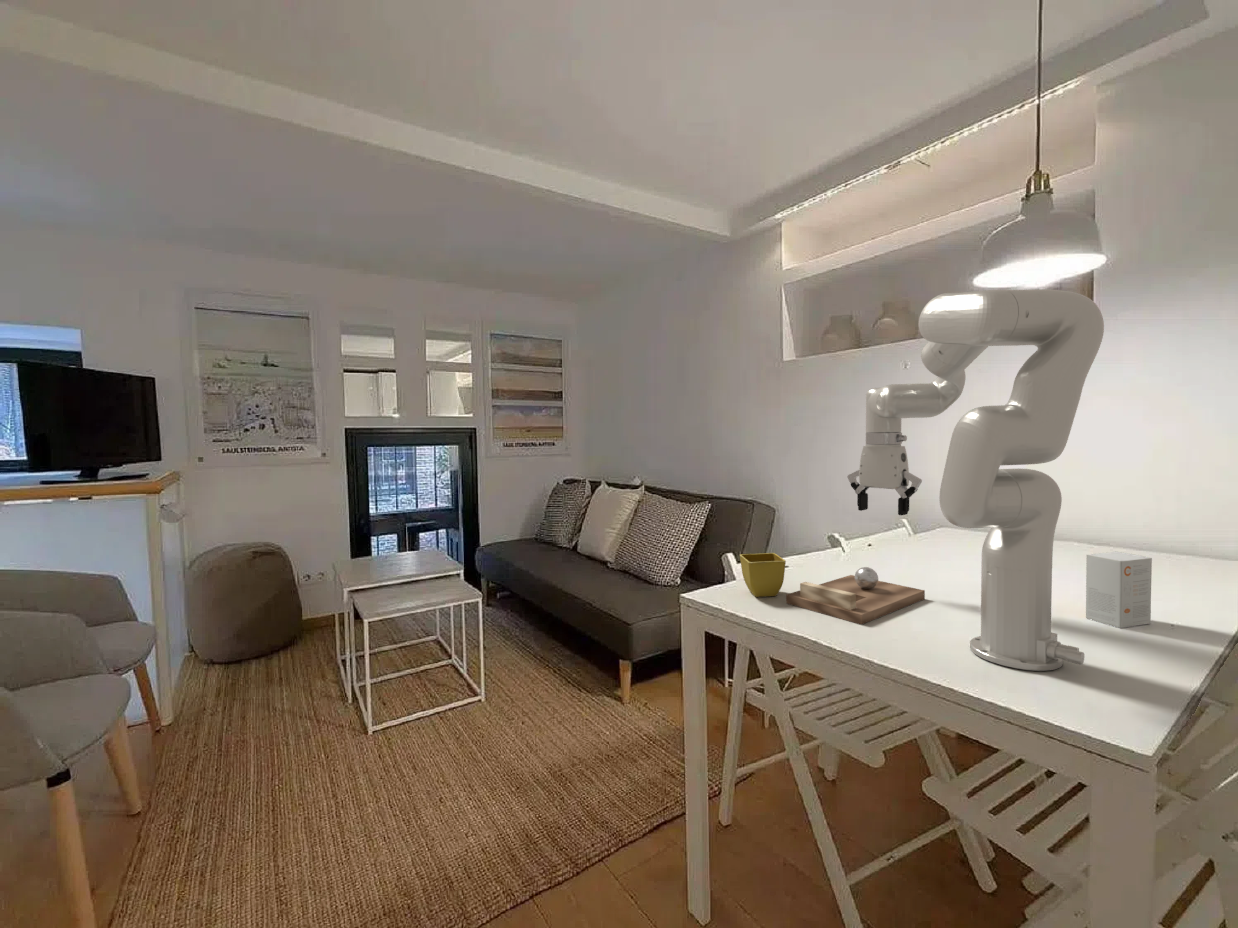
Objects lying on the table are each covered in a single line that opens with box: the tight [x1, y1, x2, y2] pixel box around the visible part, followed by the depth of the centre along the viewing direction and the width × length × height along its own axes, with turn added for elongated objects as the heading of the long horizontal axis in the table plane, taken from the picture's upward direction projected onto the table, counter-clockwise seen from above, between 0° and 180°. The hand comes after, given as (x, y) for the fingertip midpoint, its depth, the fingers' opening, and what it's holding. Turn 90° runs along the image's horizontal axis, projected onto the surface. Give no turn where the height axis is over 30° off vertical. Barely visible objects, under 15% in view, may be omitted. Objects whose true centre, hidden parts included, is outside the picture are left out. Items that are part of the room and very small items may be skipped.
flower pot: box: [739, 552, 787, 598], centre depth 129 cm, size 9×9×9 cm
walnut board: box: [785, 574, 926, 625], centre depth 122 cm, size 18×26×5 cm
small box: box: [1085, 551, 1153, 629], centre depth 105 cm, size 8×6×13 cm
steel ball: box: [854, 566, 879, 589], centre depth 124 cm, size 5×5×5 cm
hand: (882, 512), depth 128 cm, fingers open, 9 cm apart
